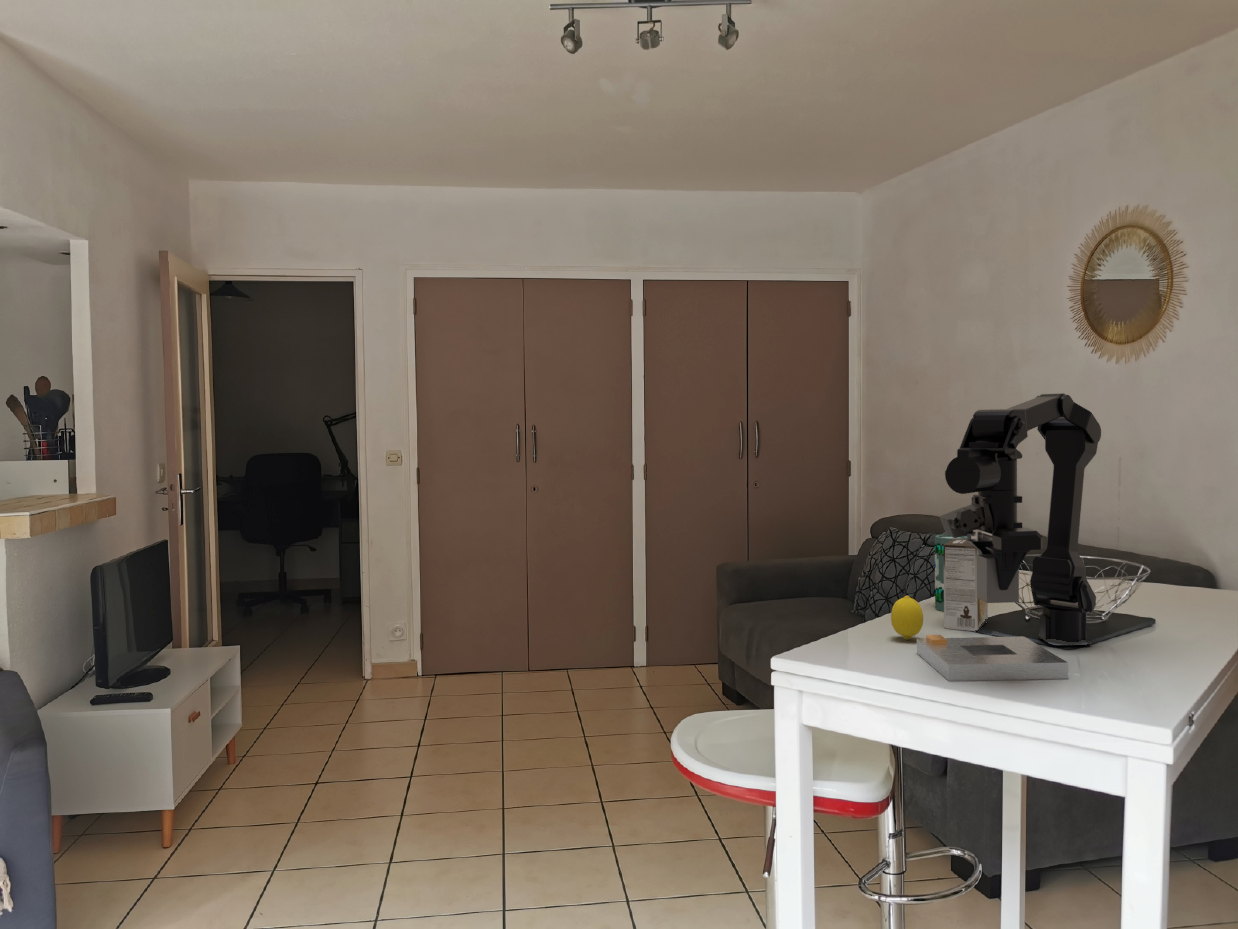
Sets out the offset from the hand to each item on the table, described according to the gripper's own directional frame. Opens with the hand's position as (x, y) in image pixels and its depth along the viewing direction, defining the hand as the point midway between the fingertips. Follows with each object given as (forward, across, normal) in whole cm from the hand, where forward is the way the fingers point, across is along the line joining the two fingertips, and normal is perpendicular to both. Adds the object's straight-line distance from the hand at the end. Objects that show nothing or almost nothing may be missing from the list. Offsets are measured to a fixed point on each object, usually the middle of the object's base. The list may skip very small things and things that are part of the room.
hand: (997, 587), depth 144 cm
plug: (+2, 0, 0) cm, 2 cm away
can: (+13, -42, +8) cm, 45 cm away
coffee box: (+13, -28, +6) cm, 32 cm away
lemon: (+13, -19, -9) cm, 24 cm away
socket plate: (+13, -1, -1) cm, 13 cm away
